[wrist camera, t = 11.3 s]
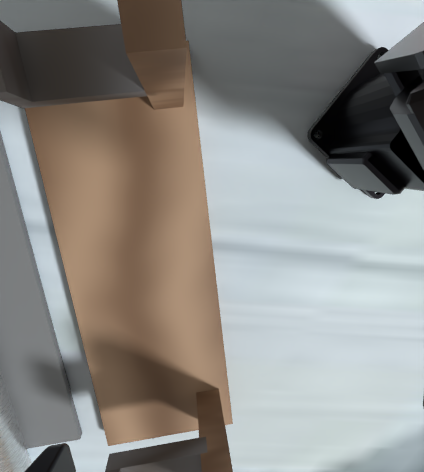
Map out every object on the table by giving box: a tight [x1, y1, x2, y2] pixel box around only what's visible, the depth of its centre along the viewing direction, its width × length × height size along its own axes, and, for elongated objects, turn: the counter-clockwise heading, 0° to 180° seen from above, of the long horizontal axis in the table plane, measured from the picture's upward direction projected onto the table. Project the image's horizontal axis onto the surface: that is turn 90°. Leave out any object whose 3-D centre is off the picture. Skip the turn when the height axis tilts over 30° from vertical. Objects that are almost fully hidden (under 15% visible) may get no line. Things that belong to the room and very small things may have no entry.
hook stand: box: [0, 0, 233, 472], centre depth 15 cm, size 9×25×10 cm, turn 6°
